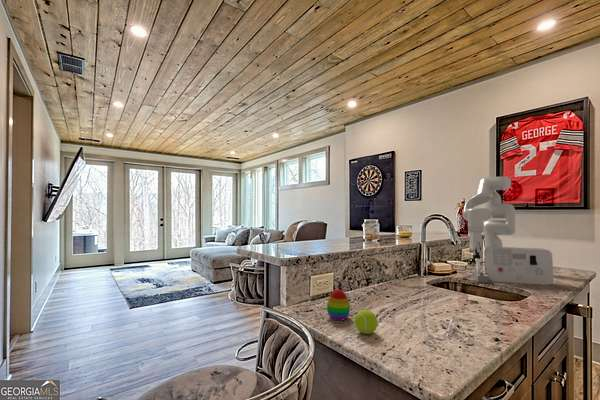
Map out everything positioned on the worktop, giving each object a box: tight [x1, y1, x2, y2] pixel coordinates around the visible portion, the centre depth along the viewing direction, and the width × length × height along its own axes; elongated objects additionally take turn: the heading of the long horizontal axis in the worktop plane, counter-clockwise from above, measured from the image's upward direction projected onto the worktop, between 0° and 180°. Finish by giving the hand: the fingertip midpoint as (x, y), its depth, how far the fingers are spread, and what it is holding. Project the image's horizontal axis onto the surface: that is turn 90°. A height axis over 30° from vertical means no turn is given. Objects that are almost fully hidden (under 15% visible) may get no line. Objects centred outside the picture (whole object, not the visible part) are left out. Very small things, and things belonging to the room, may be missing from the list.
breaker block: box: [471, 269, 490, 284], centre depth 158 cm, size 15×5×4 cm, turn 160°
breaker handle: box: [475, 258, 482, 275], centre depth 160 cm, size 3×2×9 cm
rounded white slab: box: [483, 246, 554, 286], centre depth 151 cm, size 29×8×18 cm, turn 69°
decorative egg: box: [326, 288, 351, 321], centre depth 103 cm, size 8×8×10 cm
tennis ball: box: [354, 309, 378, 335], centre depth 90 cm, size 7×7×7 cm
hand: (476, 261), depth 163 cm, fingers closed
